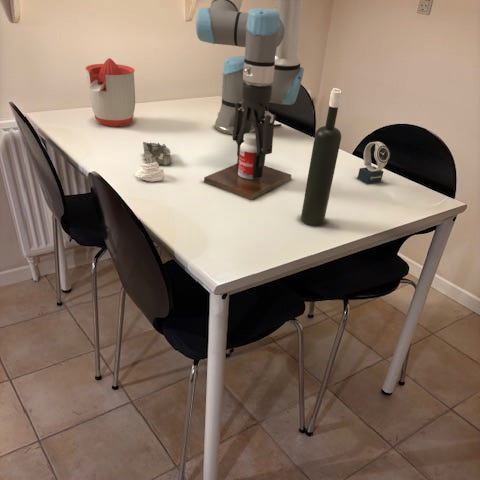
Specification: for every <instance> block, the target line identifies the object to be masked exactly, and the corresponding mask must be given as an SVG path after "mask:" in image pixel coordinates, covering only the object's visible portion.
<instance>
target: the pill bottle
mask: <svg viewBox="0 0 480 480" xmlns="http://www.w3.org/2000/svg"><path fill="white" fill-rule="evenodd" d="M243 140H244V142H243V143H242V144H241V145H240V155H239V167H238V175H239V176H240V177H242V178H244V179H249V180H252V179H254V178H253V169H254V159H255V153H257V144H256V134H255V133H246V134H244V138H243ZM261 150H262V149H261ZM255 179H257V178H255Z"/></svg>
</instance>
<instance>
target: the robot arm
mask: <svg viewBox="0 0 480 480" xmlns="http://www.w3.org/2000/svg"><path fill="white" fill-rule="evenodd" d="M304 1H305V0H274V8H273V9H272V8H264V7H253V8H250V9H249V10H248V12H242V11H240V10H241V7H242V3H243V0H211V2H210V6H209V7H208V6H207V7H201V8H199V10H198V11H197V14H196V19H195V31H196V37H197V38H198V40H199V41H201V42H203V43H208V44H212V45H222V46H223V45H224V46H233V47H239V48H240V47H241V48H244V55H235V56H231V57H227V58H226V59H225V61H224V62H223V70H222V87H221V88H222V89H221V104H220V105H221V106H220V108H219V111H217V117H216V120H215V125H214V127H215V130H217V131H218V132H220V133H223V134H226V135H231V136H232V141H233V142H236V145H237V149H236V155H237V161H236V164H237V170H238V167H239V155H240V145H241V144H242V143H243V142H244V140H243V138H244V134H246V133H255V134H256V144H257V153H255V159H254V169H253V178H254V179H255V178H259V177H262V171H263V166H265V164H266V163H265V162H266V156H267V155H270V154H272V153H273V145H274V144H273V143H274V128H276V127H277V128H279V127H282V126H283V125H282V123H275V122H276V119H277V115H276V114H275V113H271V112H270V111H269V103H270V104H271V103H272V104H279V105H287V106H292V105H294V104H295V103H296V101H297V98H298V94H299V92H300V88H301V85H302V81H303V76H304V72H305V68H304V67H303V66H301V62H302V61H301V59H300V57H299V56H298V49H299V41H300V34H301V33H300V31H301V25H302V18H303V17H302V16H303V8H304ZM261 149H262V150H261Z"/></svg>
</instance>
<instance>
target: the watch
mask: <svg viewBox="0 0 480 480" xmlns="http://www.w3.org/2000/svg"><path fill="white" fill-rule="evenodd" d="M373 146H374V152H373V156H374V161H376V166H373V165H372V163H373V162H372V151H371V149H372V147H373ZM390 158H391V152H390V150H389V148H388V146H386V144H384V142H381V141H372V142H371V141H370V142H369V143H367V145H366V146H365V148H364V151H363V164H364V166H365V167H360V168H359V170H358V174H357V178H356V179H357V180H358V181H360V182H362V183H364V184H366V185H369V184H377V183H381V182H382V179H383V176H384V170H383V169H384V168H385V167H386V165H387V163H388V161H389V160H390Z"/></svg>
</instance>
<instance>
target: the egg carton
mask: <svg viewBox="0 0 480 480" xmlns="http://www.w3.org/2000/svg"><path fill="white" fill-rule="evenodd" d="M142 149H143V156H144V158H145V160H146V164H150V163H154V162H157V163H158V165H162V166H168V165H170V164H171V160H172V159H171V149H170V148H169V147H167V145H166V144H165V143H163V144H160V143H159V142H157V143H156V142H151V141H150V142H146V141H142Z"/></svg>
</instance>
